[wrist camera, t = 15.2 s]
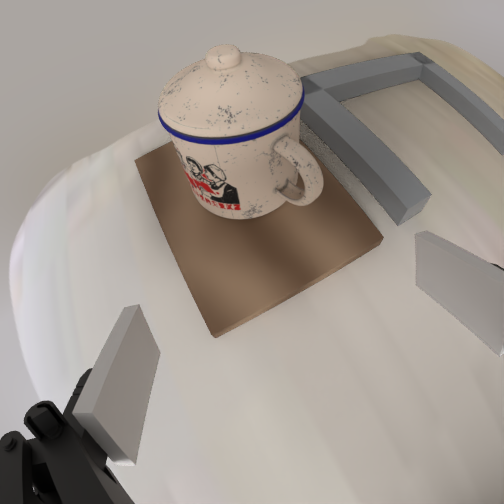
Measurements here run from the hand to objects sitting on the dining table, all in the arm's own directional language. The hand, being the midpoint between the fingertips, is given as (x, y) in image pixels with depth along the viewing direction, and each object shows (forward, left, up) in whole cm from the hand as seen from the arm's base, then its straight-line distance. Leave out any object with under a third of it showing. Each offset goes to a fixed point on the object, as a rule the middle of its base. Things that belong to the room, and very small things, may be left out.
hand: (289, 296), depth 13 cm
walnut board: (-3, -11, -8) cm, 14 cm away
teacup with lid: (-4, -11, -7) cm, 13 cm away
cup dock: (-24, -11, -8) cm, 27 cm away
